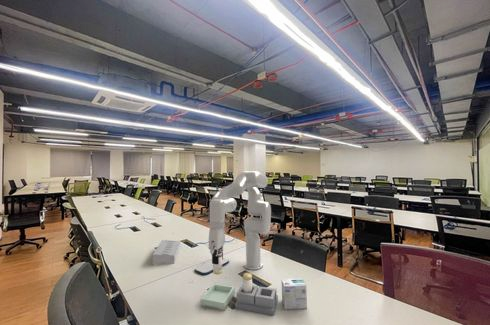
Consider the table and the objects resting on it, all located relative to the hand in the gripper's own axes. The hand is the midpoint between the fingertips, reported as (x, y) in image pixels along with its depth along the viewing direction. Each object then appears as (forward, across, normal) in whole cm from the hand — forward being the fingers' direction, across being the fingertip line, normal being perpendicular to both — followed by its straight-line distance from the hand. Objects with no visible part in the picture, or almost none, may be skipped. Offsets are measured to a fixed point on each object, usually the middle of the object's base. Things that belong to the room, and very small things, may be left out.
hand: (217, 261), depth 106 cm
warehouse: (+19, -41, -60) cm, 75 cm away
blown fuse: (+5, 0, 0) cm, 5 cm away
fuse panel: (+19, -3, +19) cm, 27 cm away
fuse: (+17, -3, +15) cm, 22 cm away
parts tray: (+19, -1, 0) cm, 19 cm away
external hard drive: (+19, -33, -19) cm, 42 cm away
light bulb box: (+19, -7, +36) cm, 41 cm away
